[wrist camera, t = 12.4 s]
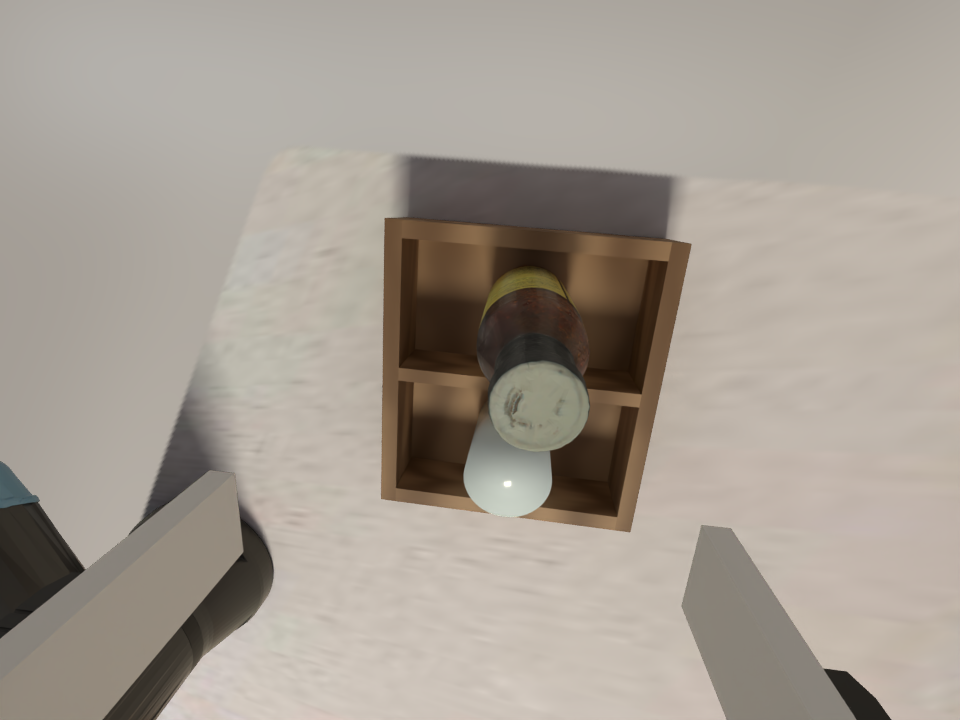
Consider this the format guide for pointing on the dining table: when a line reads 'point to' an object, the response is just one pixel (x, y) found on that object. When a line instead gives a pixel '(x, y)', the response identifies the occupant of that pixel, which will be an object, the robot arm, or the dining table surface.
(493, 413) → the sauce bottle
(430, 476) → the caddy
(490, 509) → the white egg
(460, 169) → the dining table surface
